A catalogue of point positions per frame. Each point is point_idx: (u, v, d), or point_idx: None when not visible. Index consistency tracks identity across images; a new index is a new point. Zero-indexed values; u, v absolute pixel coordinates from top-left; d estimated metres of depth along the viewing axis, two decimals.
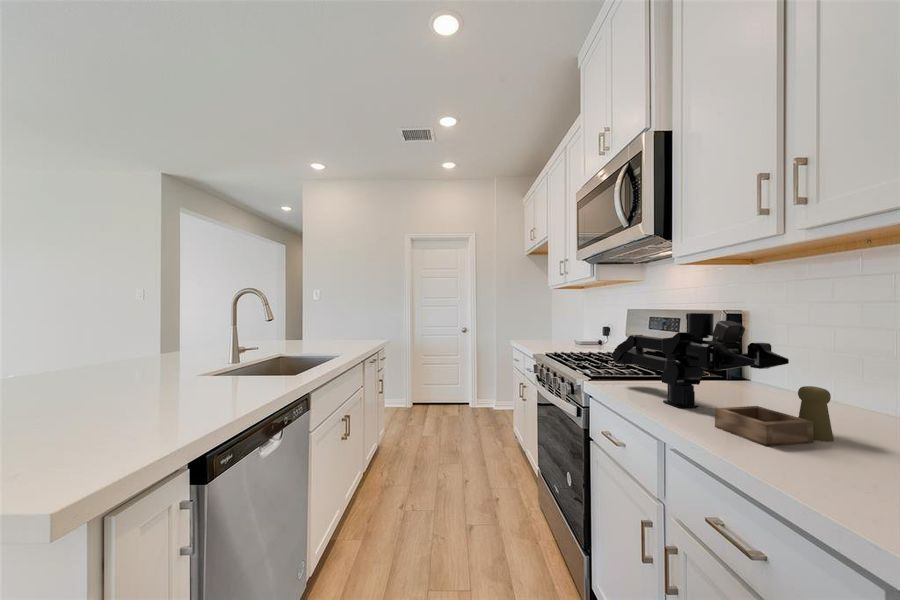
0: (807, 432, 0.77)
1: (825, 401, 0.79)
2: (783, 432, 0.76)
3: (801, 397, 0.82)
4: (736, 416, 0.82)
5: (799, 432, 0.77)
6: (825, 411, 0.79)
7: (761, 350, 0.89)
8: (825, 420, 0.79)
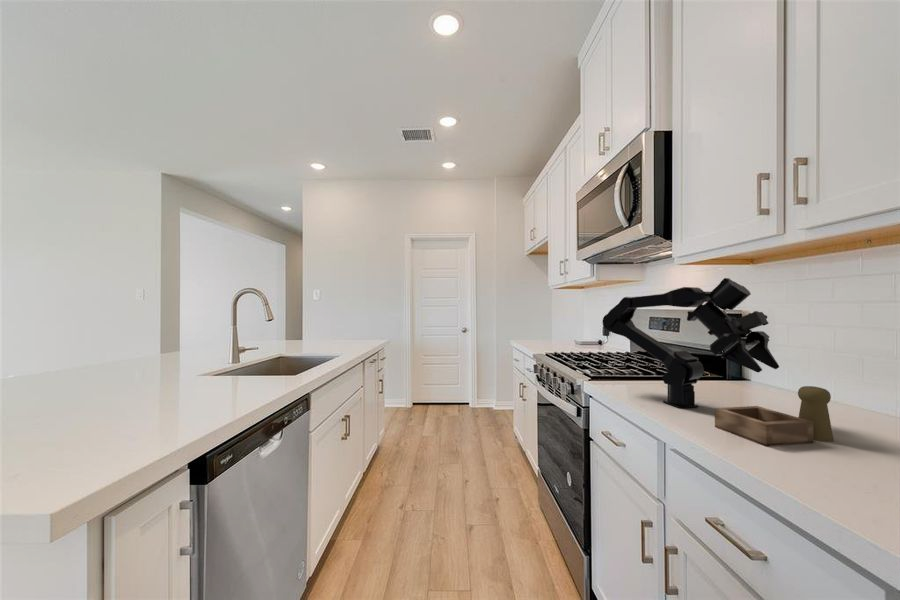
0: (807, 432, 0.77)
1: (825, 401, 0.79)
2: (783, 432, 0.76)
3: (801, 397, 0.82)
4: (736, 416, 0.82)
5: (799, 432, 0.77)
6: (825, 411, 0.79)
7: (761, 344, 0.94)
8: (825, 420, 0.79)
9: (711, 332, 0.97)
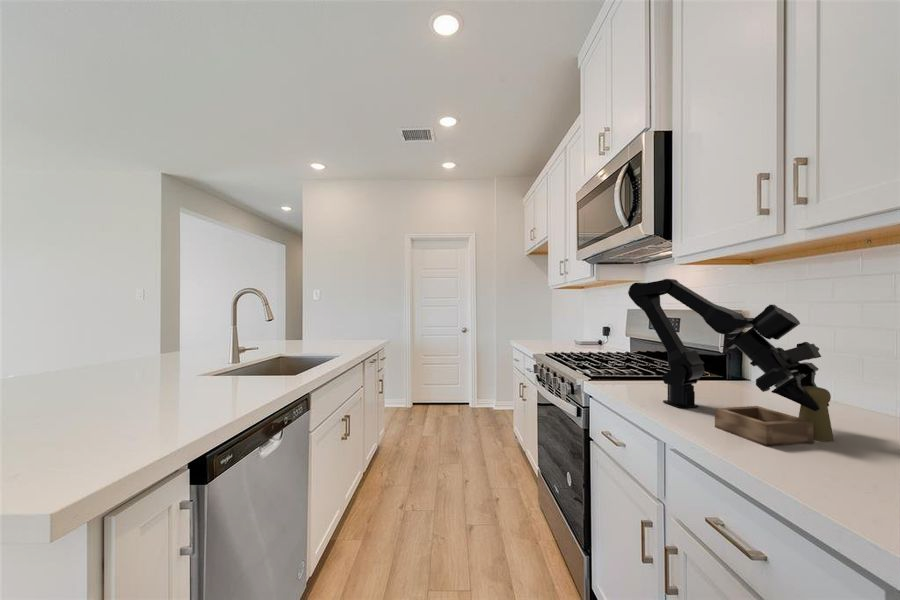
0: (807, 432, 0.77)
1: (825, 401, 0.79)
2: (783, 432, 0.76)
3: None
4: (736, 416, 0.82)
5: (799, 432, 0.77)
6: (825, 411, 0.79)
7: (807, 378, 0.85)
8: (825, 420, 0.79)
9: (754, 363, 0.89)
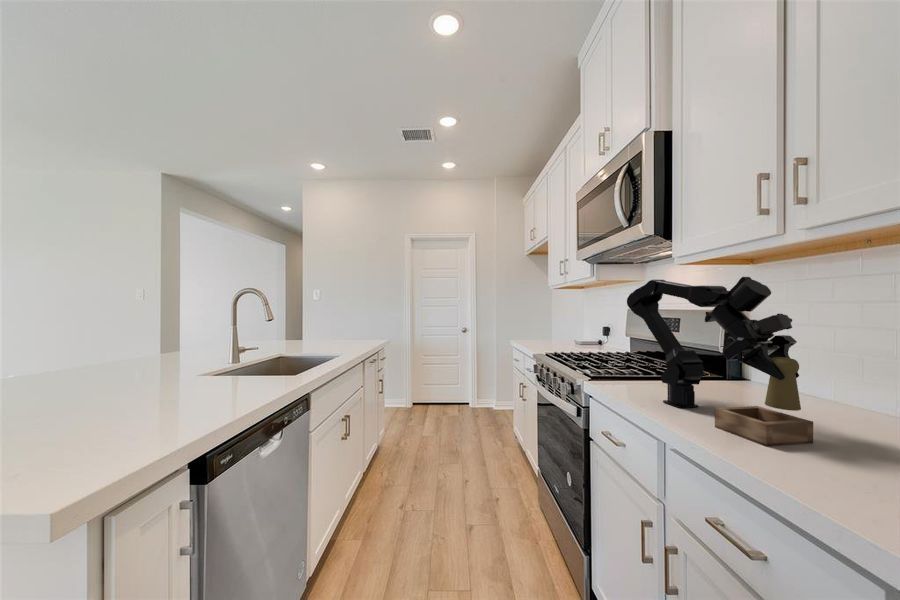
0: (807, 432, 0.77)
1: (792, 371, 0.79)
2: (783, 432, 0.76)
3: None
4: (736, 416, 0.82)
5: (799, 432, 0.77)
6: (792, 381, 0.80)
7: (780, 350, 0.85)
8: (791, 389, 0.80)
9: (728, 335, 0.90)
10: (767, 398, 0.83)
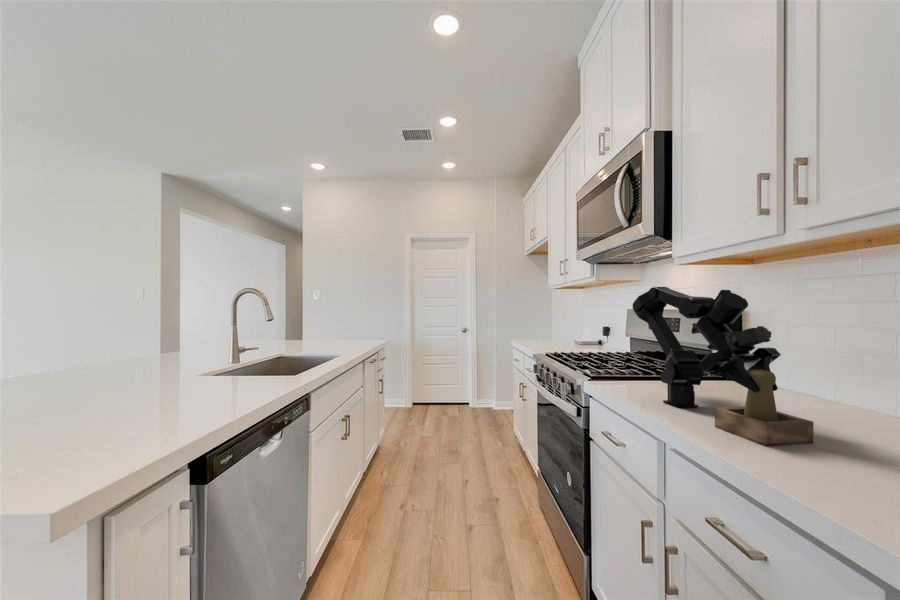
0: (807, 432, 0.77)
1: (767, 383, 0.80)
2: (783, 432, 0.76)
3: None
4: (736, 416, 0.82)
5: (799, 432, 0.77)
6: (768, 393, 0.81)
7: (761, 362, 0.85)
8: (766, 402, 0.80)
9: (710, 347, 0.92)
10: (745, 410, 0.84)
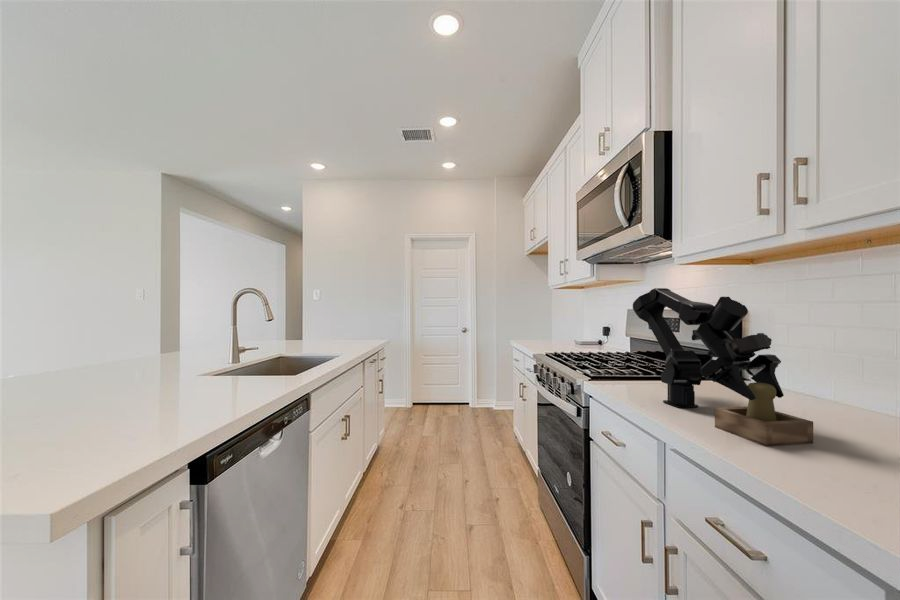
0: (807, 432, 0.77)
1: (767, 397, 0.80)
2: (783, 432, 0.76)
3: None
4: (736, 416, 0.82)
5: (799, 432, 0.77)
6: (768, 407, 0.81)
7: (766, 369, 0.86)
8: (767, 415, 0.80)
9: (710, 353, 0.92)
10: None
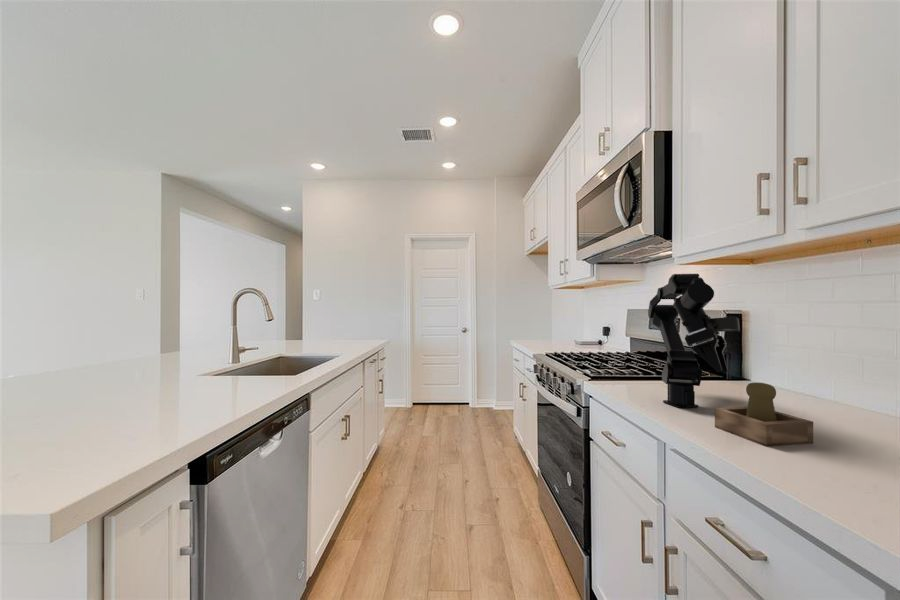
0: (807, 432, 0.77)
1: (767, 397, 0.80)
2: (783, 432, 0.76)
3: (747, 392, 0.84)
4: (736, 416, 0.82)
5: (799, 432, 0.77)
6: (768, 407, 0.81)
7: (720, 347, 0.98)
8: (767, 415, 0.80)
9: (685, 323, 0.98)
10: None
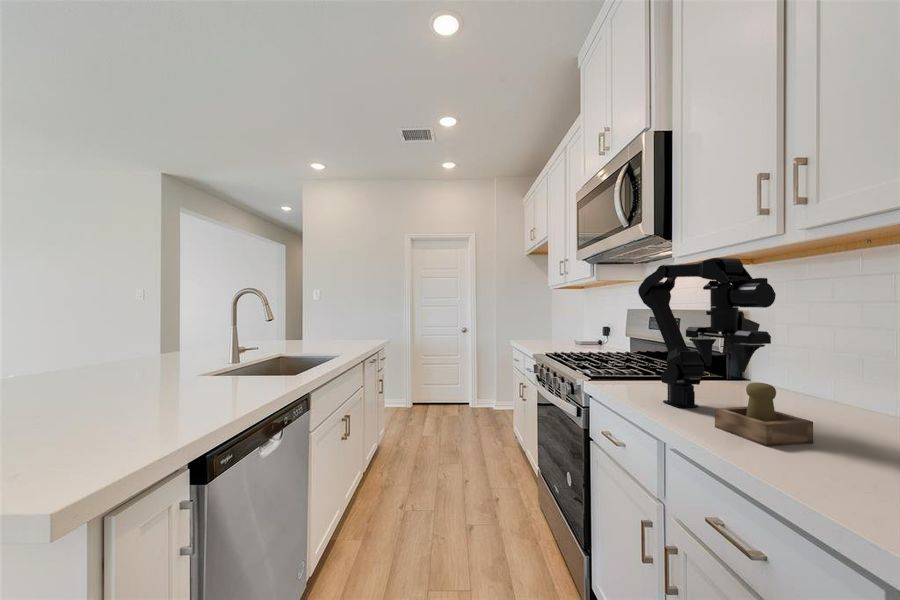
0: (807, 432, 0.77)
1: (767, 397, 0.80)
2: (783, 432, 0.76)
3: (747, 392, 0.84)
4: (736, 416, 0.82)
5: (799, 432, 0.77)
6: (768, 407, 0.81)
7: (712, 341, 0.98)
8: (767, 415, 0.80)
9: (725, 314, 0.90)
10: None
